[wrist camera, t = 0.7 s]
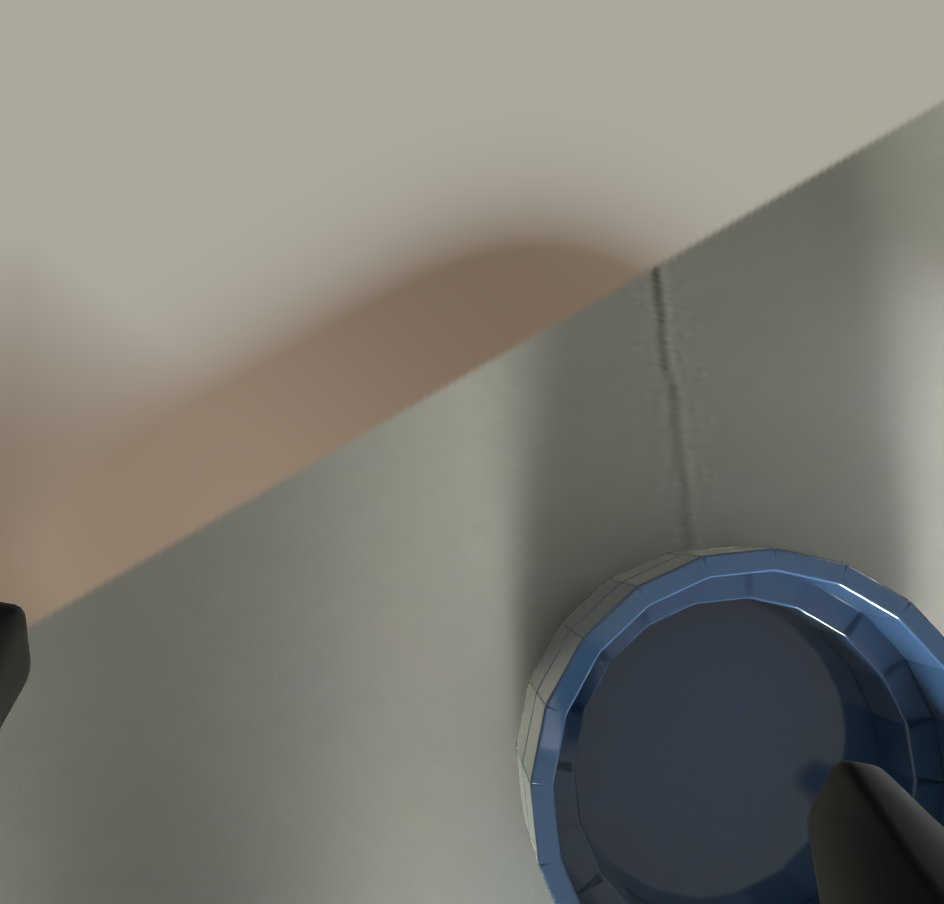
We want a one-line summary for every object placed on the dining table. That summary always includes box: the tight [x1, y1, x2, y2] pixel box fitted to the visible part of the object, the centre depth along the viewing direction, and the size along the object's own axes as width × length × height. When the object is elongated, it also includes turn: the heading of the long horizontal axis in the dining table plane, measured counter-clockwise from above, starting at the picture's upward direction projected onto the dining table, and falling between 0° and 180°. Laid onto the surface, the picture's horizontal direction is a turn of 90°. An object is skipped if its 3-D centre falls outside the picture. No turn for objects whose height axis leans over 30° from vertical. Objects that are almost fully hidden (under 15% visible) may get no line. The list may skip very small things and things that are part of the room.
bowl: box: [516, 547, 944, 904], centre depth 21 cm, size 12×12×4 cm
